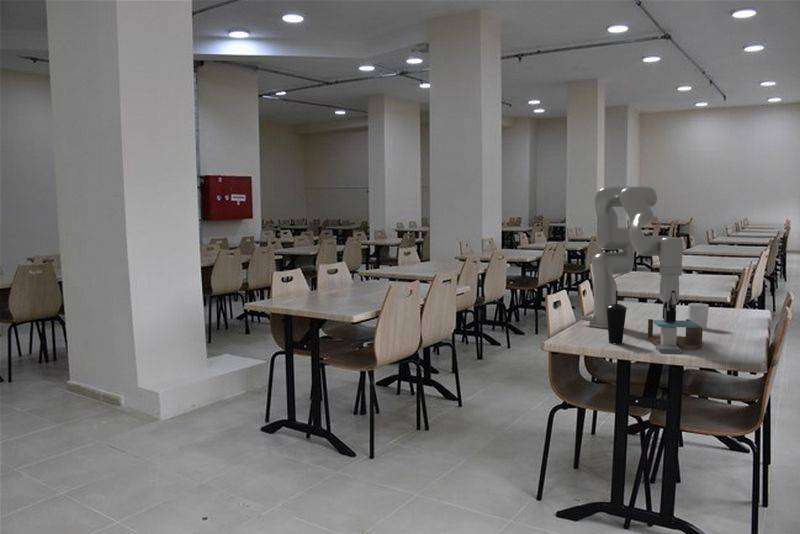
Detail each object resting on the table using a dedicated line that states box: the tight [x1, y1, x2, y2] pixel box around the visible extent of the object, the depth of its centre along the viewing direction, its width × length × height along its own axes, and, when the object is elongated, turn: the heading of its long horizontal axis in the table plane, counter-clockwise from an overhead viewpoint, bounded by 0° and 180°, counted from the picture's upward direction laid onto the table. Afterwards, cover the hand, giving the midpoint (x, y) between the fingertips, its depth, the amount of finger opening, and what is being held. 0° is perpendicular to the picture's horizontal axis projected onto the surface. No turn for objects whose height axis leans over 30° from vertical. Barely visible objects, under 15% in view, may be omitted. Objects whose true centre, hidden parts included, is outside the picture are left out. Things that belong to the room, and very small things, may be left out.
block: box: [660, 327, 678, 345], centre depth 244 cm, size 4×4×8 cm
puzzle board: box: [647, 318, 704, 351], centre depth 248 cm, size 15×18×8 cm
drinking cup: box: [606, 289, 628, 345], centre depth 251 cm, size 8×8×20 cm
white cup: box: [687, 302, 709, 330], centre depth 279 cm, size 8×8×10 cm
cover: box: [653, 308, 699, 328], centre depth 243 cm, size 14×8×6 cm, turn 81°
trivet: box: [655, 345, 682, 354], centre depth 236 cm, size 7×6×2 cm
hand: (669, 319), depth 243 cm, fingers open, 4 cm apart
